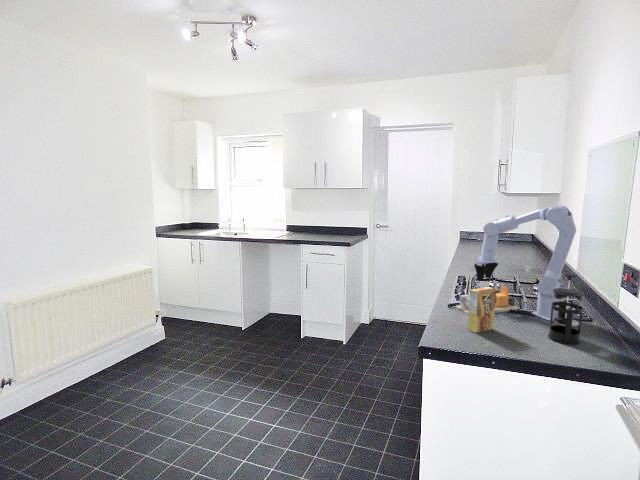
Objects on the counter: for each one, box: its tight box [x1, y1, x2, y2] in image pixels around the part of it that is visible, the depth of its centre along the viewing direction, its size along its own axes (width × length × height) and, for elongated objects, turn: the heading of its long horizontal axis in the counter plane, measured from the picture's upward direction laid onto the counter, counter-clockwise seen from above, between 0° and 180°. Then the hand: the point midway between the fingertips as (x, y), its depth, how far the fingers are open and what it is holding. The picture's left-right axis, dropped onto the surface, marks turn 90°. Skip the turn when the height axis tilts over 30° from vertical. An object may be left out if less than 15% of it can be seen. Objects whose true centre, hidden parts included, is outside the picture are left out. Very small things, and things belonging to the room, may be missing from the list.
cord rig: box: [455, 294, 521, 315], centre depth 169 cm, size 10×24×6 cm, turn 106°
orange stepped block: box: [495, 285, 510, 307], centre depth 170 cm, size 4×5×8 cm
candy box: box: [467, 286, 497, 334], centre depth 145 cm, size 9×4×15 cm, turn 116°
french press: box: [547, 272, 585, 346], centre depth 136 cm, size 12×9×23 cm
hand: (483, 279), depth 176 cm, fingers open, 7 cm apart
